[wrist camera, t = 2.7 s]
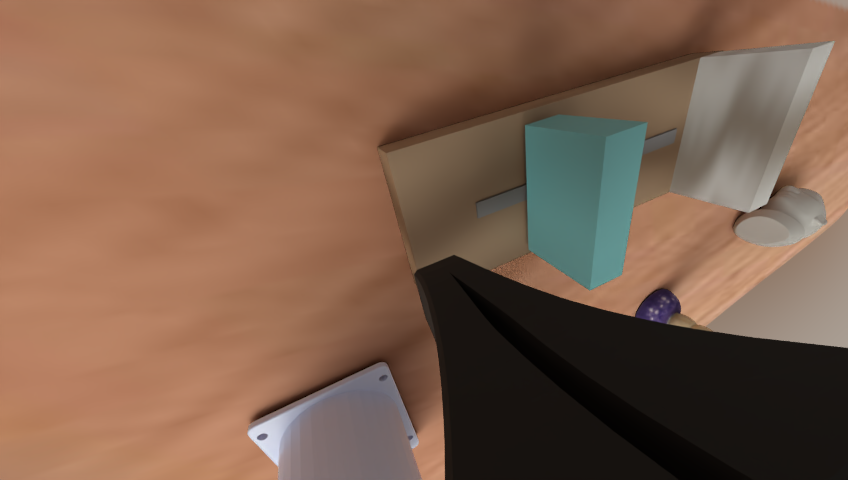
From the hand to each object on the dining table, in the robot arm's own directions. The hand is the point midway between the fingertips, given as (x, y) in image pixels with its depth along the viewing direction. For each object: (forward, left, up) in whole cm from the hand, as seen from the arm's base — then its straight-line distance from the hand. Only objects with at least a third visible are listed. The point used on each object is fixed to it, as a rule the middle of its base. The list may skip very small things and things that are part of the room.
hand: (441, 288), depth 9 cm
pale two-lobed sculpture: (-12, -34, -7) cm, 37 cm away
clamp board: (-1, -10, -6) cm, 12 cm away
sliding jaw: (-1, -8, -4) cm, 9 cm away
